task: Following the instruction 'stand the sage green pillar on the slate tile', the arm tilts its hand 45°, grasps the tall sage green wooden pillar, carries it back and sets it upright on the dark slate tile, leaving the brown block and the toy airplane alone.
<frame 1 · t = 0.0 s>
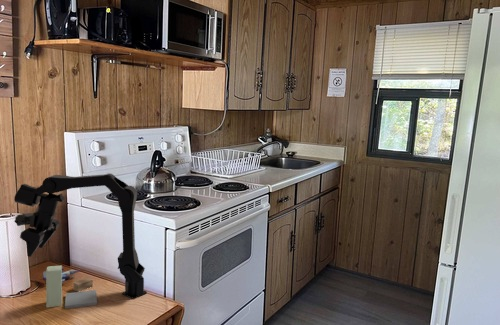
hand: (34, 251, 139), 15 cm above the table, tool pointing down, fingers open, 9 cm apart
brown block: (83, 288, 147), on the table
toy airplane: (62, 281, 152), on the table
slate tile: (81, 300, 137), on the table
sage green pillar: (54, 303, 134), on the table
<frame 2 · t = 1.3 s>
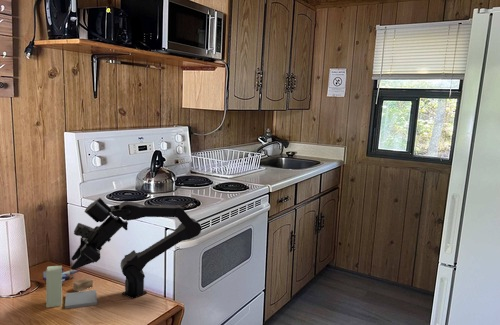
hand: (71, 264, 134), 13 cm above the table, tool tilted 45°, fingers open, 9 cm apart
nothing on the table moved.
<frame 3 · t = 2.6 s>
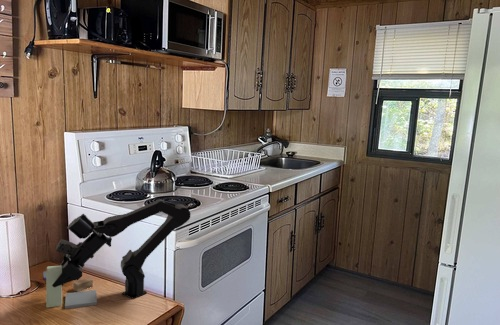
hand: (53, 281, 133), 8 cm above the table, tool tilted 45°, fingers open, 9 cm apart
nothing on the table moved.
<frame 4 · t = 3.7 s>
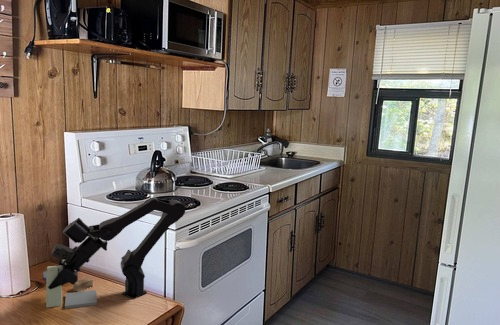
hand: (49, 285, 132), 7 cm above the table, tool tilted 45°, fingers closed on sage green pillar, 4 cm apart
sage green pillar: (54, 303, 134), on the table, touching gripper
everything else where it was.
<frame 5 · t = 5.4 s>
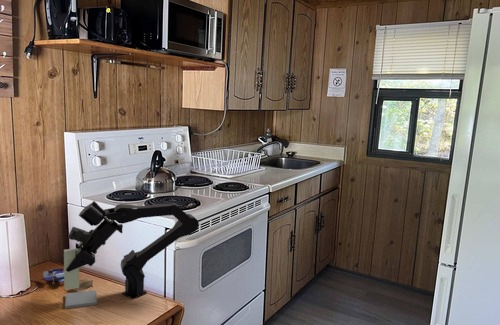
hand: (67, 268, 134), 12 cm above the table, tool tilted 45°, fingers closed on sage green pillar, 4 cm apart
sage green pillar: (72, 286, 135), point 6 cm above the table, touching gripper
everything else where it was.
when the fingers open (9 cm above the table, at t = 6.9 s): sage green pillar drops 1 cm, resting on slate tile.
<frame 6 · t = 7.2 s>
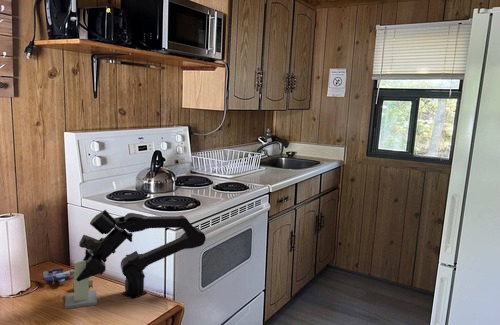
hand: (77, 275, 136), 9 cm above the table, tool tilted 45°, fingers open, 8 cm apart
sage green pillar: (81, 297, 137), point 1 cm above the table, touching slate tile
everything else where it was.
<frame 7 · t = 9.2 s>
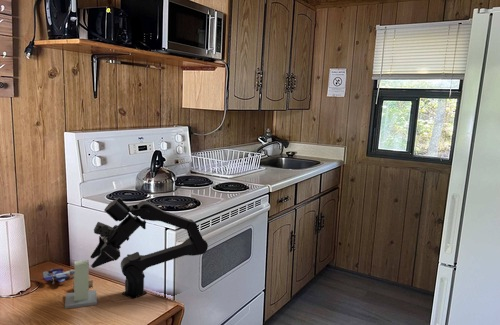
hand: (91, 262, 137), 13 cm above the table, tool tilted 45°, fingers open, 9 cm apart
nothing on the table moved.
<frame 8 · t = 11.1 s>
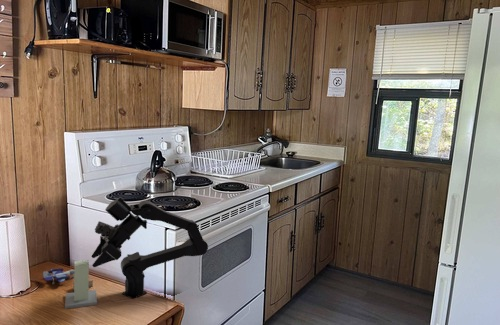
hand: (92, 261, 137), 14 cm above the table, tool tilted 45°, fingers open, 9 cm apart
nothing on the table moved.
at the end: sage green pillar 0.1 cm off-centre on the slate tile, point 1.0 cm above the slate tile's base; sage green pillar tilted 0°; brown block moved 0.2 cm from its start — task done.
